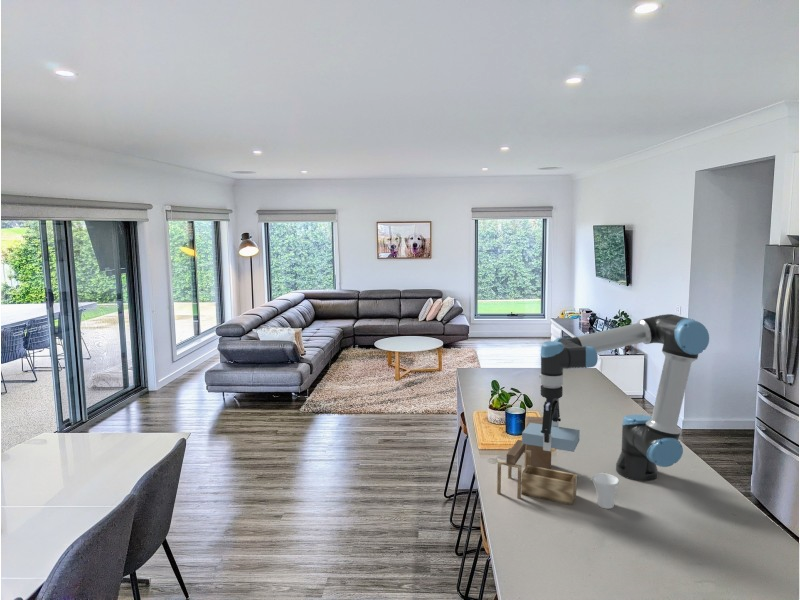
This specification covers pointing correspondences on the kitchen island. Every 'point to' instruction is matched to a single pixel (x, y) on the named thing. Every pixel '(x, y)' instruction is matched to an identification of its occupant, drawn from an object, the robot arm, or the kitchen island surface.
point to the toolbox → (542, 482)
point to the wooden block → (537, 449)
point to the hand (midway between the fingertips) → (550, 444)
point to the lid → (559, 437)
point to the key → (515, 452)
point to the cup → (605, 489)
